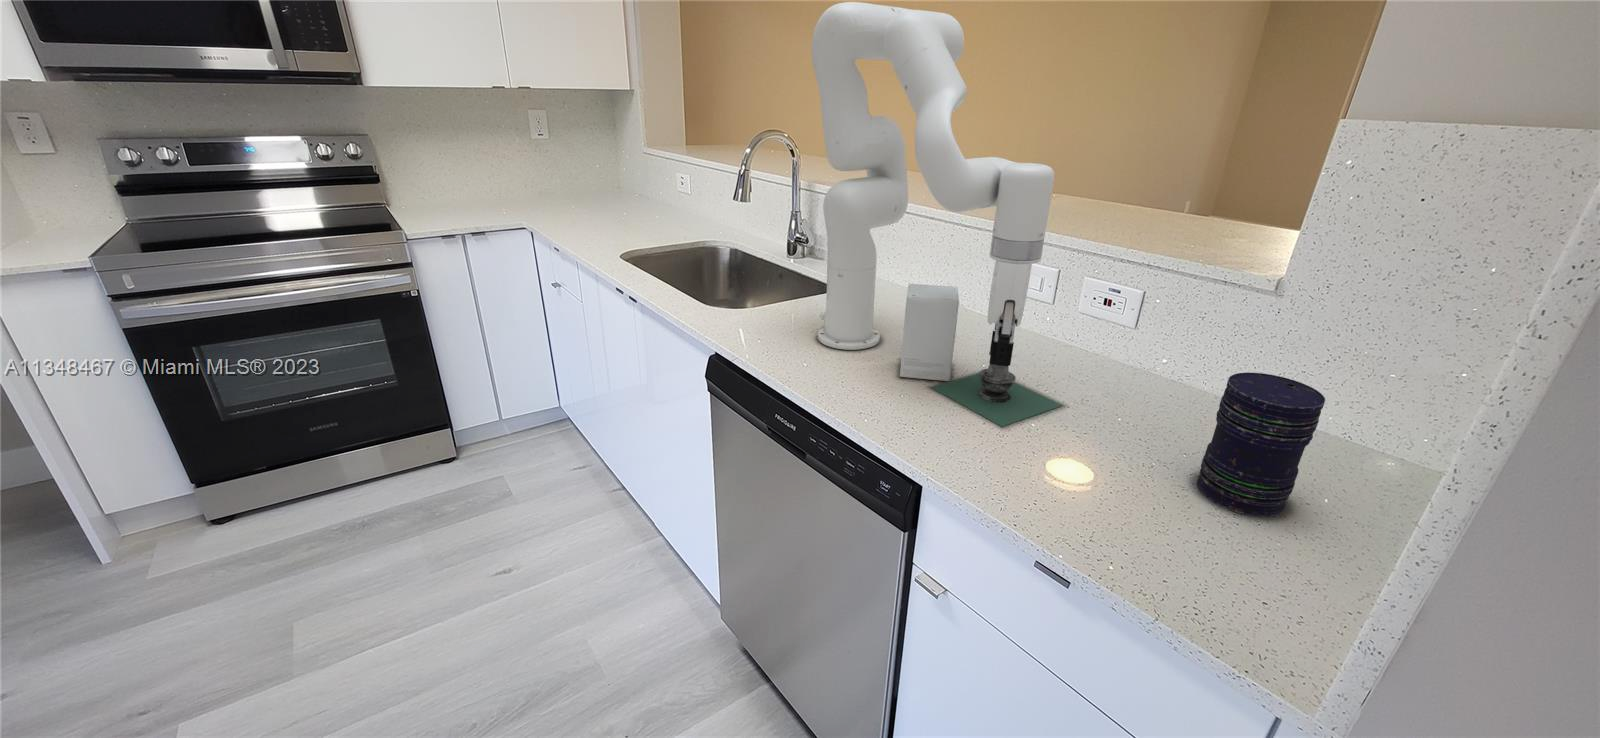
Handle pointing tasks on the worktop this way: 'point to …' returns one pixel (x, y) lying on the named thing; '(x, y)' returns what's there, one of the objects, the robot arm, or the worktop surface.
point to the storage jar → (1258, 443)
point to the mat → (1000, 413)
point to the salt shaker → (996, 383)
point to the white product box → (929, 331)
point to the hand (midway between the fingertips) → (999, 358)
